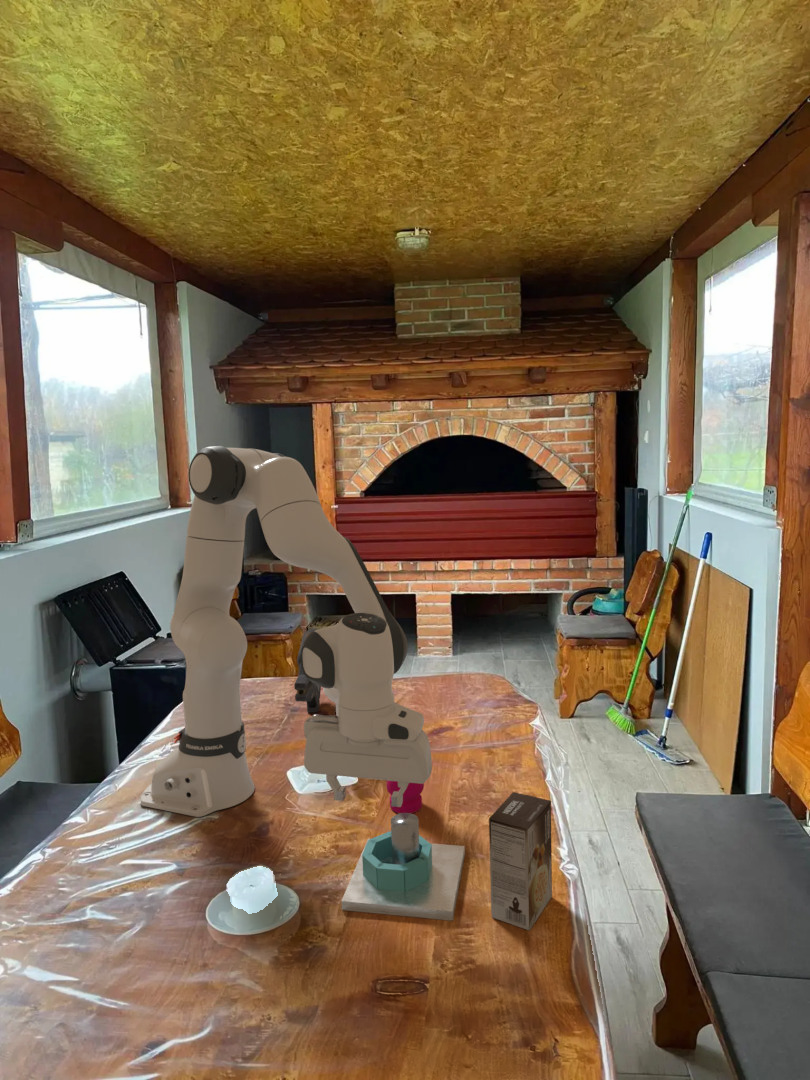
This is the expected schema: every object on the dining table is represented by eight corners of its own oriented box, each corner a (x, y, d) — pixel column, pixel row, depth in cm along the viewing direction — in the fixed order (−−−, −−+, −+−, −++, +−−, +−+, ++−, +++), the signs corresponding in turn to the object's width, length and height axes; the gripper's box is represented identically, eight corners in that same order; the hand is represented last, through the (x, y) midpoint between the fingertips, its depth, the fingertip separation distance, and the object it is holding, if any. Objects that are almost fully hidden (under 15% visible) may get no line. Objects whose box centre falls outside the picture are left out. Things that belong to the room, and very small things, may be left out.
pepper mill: (420, 817, 134) (417, 715, 131) (383, 814, 135) (379, 714, 132) (427, 797, 141) (424, 701, 138) (391, 795, 142) (388, 699, 139)
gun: (331, 695, 199) (327, 625, 196) (317, 737, 171) (312, 657, 168) (306, 695, 199) (302, 626, 196) (289, 738, 171) (284, 658, 168)
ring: (358, 887, 111) (357, 866, 111) (373, 848, 121) (372, 829, 121) (424, 893, 109) (424, 872, 109) (435, 853, 119) (434, 834, 119)
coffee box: (514, 884, 113) (513, 789, 111) (553, 896, 109) (552, 799, 107) (489, 918, 105) (487, 817, 103) (530, 932, 102) (529, 828, 99)
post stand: (341, 910, 108) (338, 846, 107) (368, 846, 125) (365, 790, 123) (452, 920, 105) (450, 855, 103) (464, 854, 121) (463, 796, 120)
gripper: (296, 721, 110) (299, 805, 112) (425, 731, 105) (426, 818, 107) (310, 706, 116) (313, 786, 118) (433, 715, 112) (434, 798, 113)
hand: (368, 801), depth 113 cm, fingers open, 8 cm apart
